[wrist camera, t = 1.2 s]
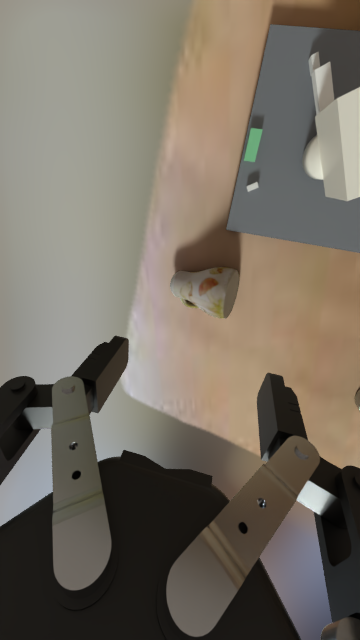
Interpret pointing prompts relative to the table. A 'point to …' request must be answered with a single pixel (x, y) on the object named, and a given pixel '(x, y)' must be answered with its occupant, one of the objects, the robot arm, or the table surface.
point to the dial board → (294, 142)
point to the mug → (207, 290)
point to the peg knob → (334, 139)
